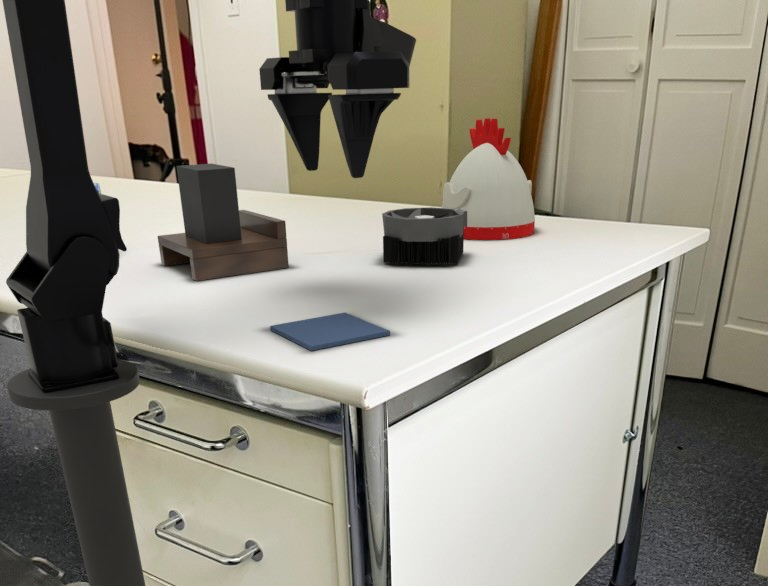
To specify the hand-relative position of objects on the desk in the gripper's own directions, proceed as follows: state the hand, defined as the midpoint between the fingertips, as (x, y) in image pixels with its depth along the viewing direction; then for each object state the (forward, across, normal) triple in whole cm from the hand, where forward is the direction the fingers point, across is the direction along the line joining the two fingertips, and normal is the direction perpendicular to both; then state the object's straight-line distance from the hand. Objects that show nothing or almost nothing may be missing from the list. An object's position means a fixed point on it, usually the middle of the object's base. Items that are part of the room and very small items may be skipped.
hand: (334, 173), depth 78 cm
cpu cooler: (+12, +12, -19) cm, 25 cm away
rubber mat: (+12, -11, +7) cm, 18 cm away
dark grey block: (+9, +23, +4) cm, 25 cm away
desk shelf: (+12, +24, +4) cm, 27 cm away
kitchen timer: (+12, +23, -38) cm, 46 cm away
